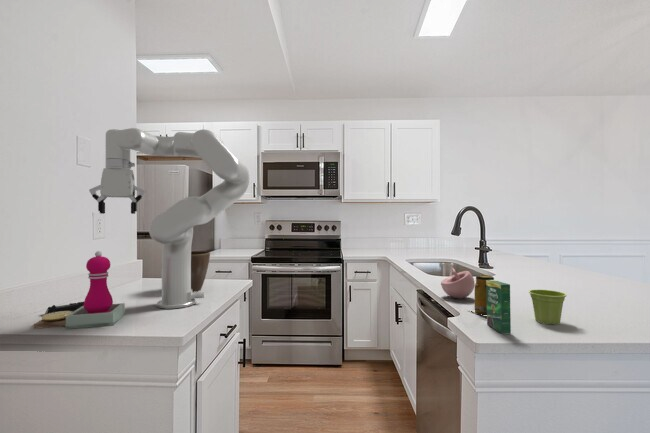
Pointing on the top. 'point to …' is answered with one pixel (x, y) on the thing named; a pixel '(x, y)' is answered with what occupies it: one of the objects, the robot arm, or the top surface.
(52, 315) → the gold disc
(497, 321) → the coffee box
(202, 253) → the plant pot
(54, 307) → the electric trimmer
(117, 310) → the trough tray
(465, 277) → the mortar and pestle
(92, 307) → the pepper mill
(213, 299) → the top surface
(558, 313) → the plant pot
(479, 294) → the condiment
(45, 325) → the checker plinth
